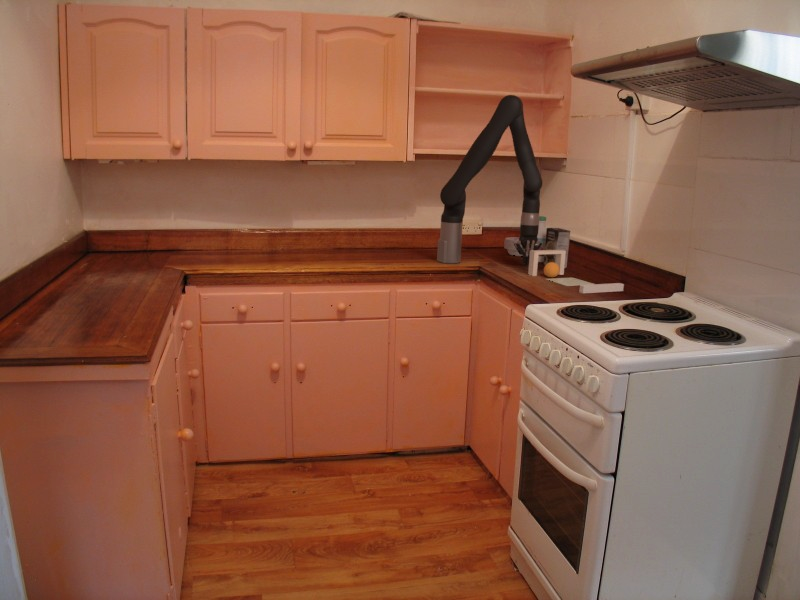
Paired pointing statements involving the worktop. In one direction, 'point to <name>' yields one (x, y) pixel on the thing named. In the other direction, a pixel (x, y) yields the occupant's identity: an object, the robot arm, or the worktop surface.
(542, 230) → the milk bottle
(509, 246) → the paper bowls
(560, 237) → the coffee box
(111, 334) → the worktop surface
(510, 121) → the robot arm
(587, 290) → the stopper strip
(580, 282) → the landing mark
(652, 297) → the worktop surface
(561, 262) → the bridge
